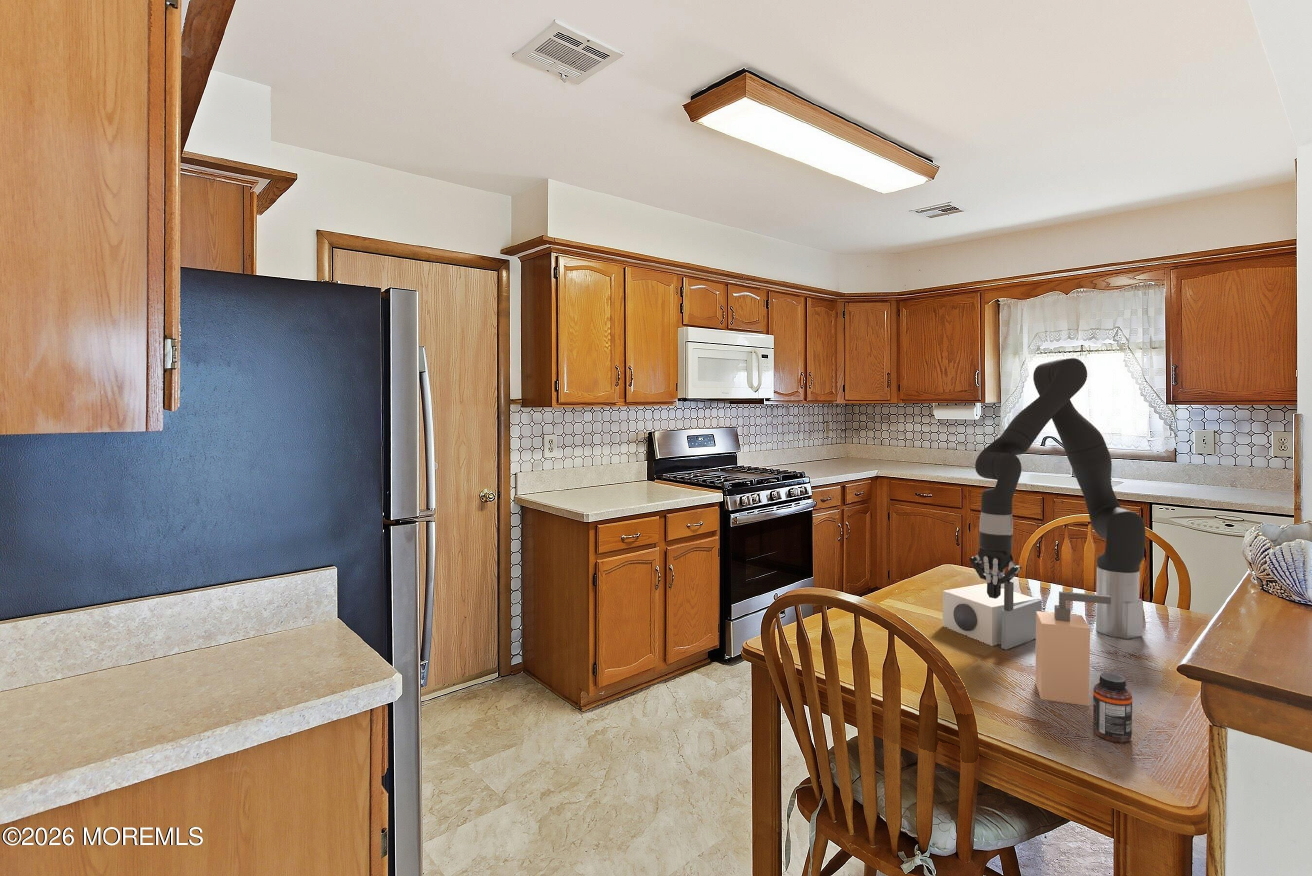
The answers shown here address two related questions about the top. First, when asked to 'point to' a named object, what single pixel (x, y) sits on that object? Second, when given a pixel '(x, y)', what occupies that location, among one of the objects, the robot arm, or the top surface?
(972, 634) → the camera box
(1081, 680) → the soap dispenser
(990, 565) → the robot arm
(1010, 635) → the side door
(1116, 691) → the supplement bottle
